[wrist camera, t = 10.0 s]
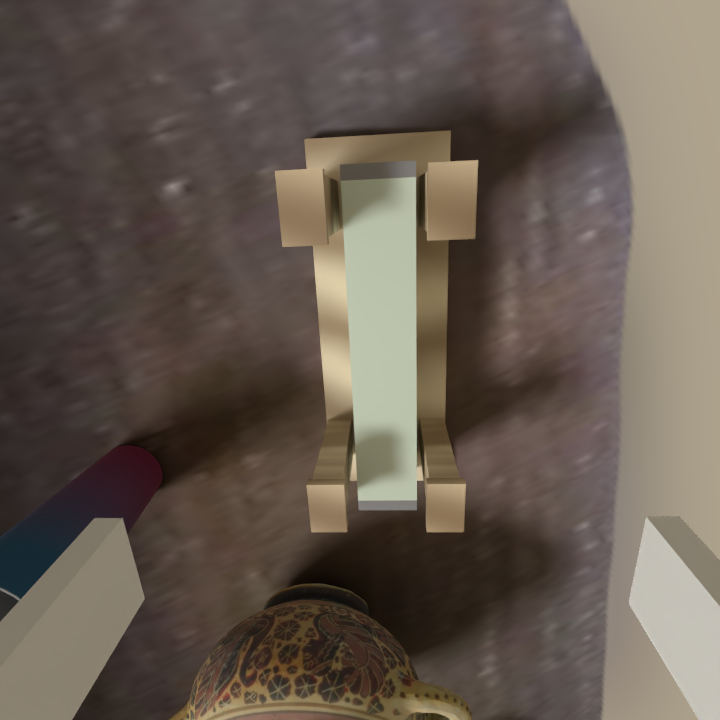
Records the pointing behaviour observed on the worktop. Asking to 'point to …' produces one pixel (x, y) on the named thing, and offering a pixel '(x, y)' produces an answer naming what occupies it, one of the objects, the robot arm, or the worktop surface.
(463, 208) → the bar on post stand
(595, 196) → the worktop surface
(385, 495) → the rail
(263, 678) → the ceramic bowl
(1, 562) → the cup
